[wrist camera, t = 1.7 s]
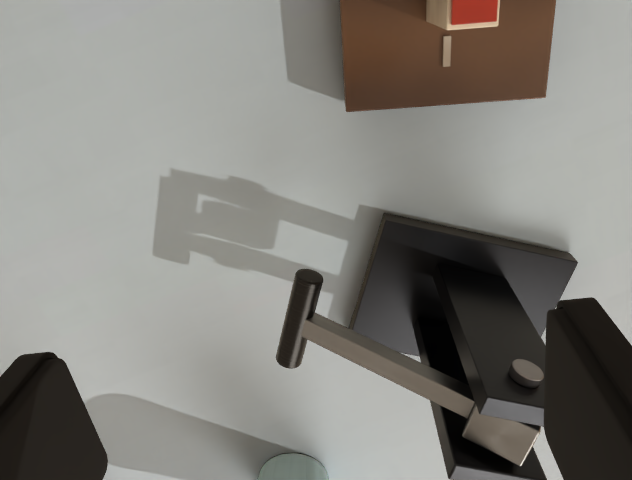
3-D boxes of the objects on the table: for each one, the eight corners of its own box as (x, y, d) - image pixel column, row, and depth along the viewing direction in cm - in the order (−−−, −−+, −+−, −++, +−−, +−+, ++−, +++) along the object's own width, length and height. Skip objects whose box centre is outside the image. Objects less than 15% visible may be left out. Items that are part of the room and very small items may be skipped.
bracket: (347, 331, 36) (354, 495, 25) (383, 212, 32) (412, 340, 21) (515, 365, 37) (598, 538, 26) (570, 253, 33) (697, 397, 22)
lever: (287, 344, 31) (266, 365, 29) (307, 262, 28) (286, 278, 26) (513, 458, 27) (507, 492, 25) (559, 373, 24) (556, 403, 22)
